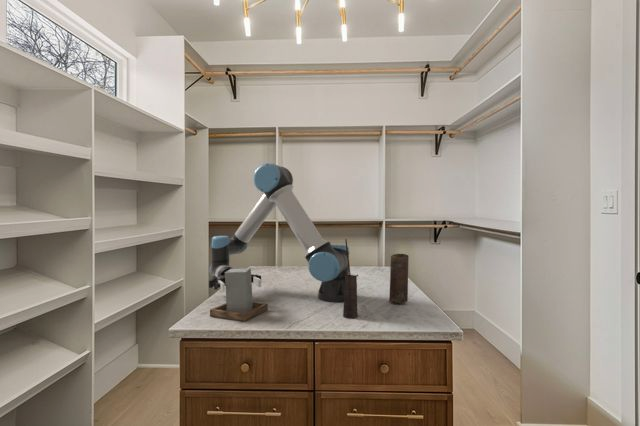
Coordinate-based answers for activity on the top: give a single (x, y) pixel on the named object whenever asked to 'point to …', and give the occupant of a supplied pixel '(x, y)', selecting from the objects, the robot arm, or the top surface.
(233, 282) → the skincare box
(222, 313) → the walnut tray
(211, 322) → the top surface
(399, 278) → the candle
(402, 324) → the top surface
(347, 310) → the butter churn
